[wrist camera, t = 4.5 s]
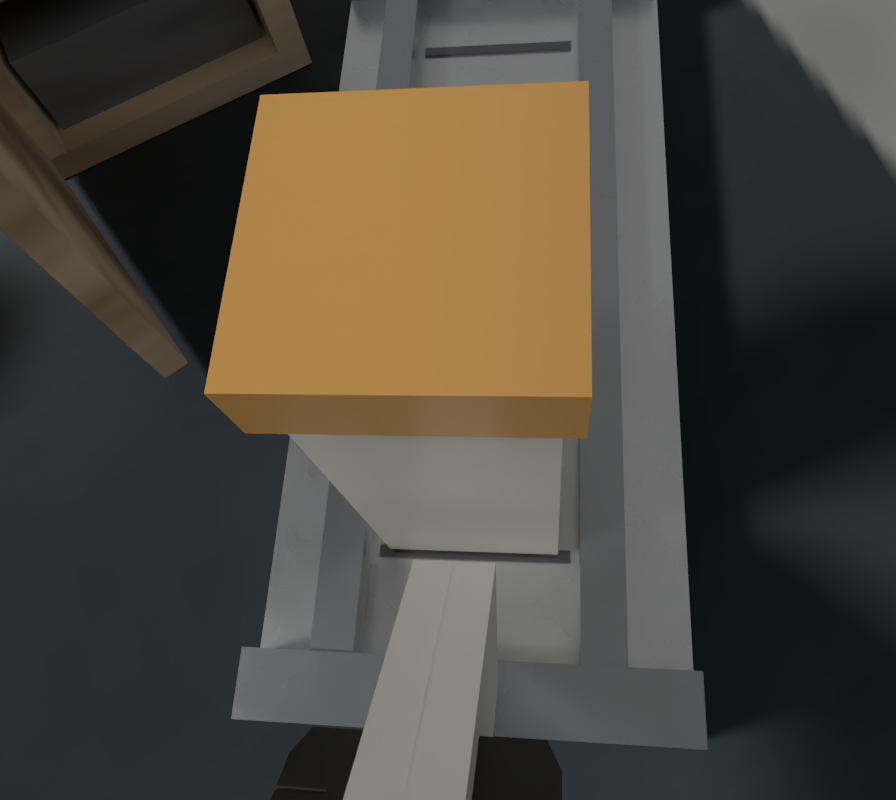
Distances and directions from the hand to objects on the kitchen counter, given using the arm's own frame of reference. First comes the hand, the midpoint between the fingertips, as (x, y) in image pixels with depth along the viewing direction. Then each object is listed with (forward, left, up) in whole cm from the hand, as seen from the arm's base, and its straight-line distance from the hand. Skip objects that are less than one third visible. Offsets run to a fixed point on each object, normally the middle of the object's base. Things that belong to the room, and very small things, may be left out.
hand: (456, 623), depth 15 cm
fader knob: (-4, +2, -4) cm, 6 cm away
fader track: (-9, +5, -6) cm, 12 cm away
